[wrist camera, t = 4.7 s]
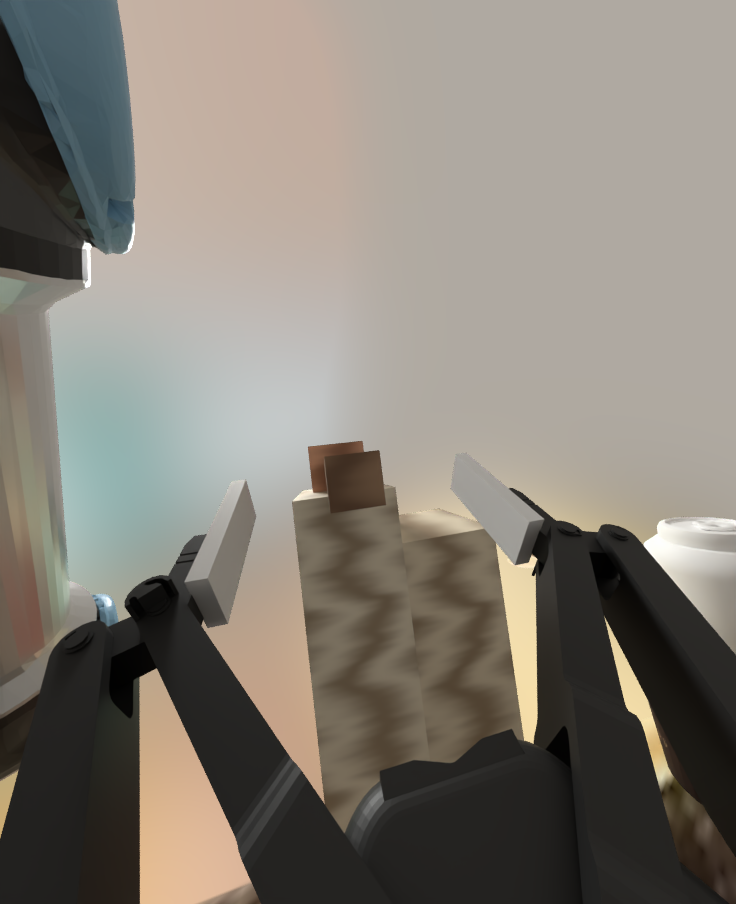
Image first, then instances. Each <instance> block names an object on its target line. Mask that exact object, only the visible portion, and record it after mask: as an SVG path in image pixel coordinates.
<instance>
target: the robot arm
mask: <svg viewBox="0 0 736 904" xmlns="http://www.w3.org/2000/svg"><path fill="white" fill-rule="evenodd" d="M134 198H135V160H134V143H133V129H132V117H131V107H130V95H129V85H128V76H127V67H126V59H125V50H124V43H123V35H122V29H121V22H120V17H119V11H118V3H117V0H0V781H1V780H3V779H5V778H6V777H8V776H10V775H12V774H13V773H15V772H17V771H18V775H17V778H16V782H15V786H14V790H13V793H12V797H11V801H10V805H9V808H8V812H7V816H6V820H5V823H4V827H3V831H2V834H1V838H0V904H140V850H139V849H140V843H139V842H140V815H139V814H140V810H139V809H140V804H139V803H140V802H139V801H140V795H139V794H140V793H139V792H140V787H139V786H140V783H139V780H140V777H139V775H140V769H139V768H140V766H139V765H140V761H139V757H140V755H139V677H140V676H142V675H144V674H146V673H148V672H150V671H152V670H154V669H156V668H157V669H158V671H159V673H160V676H161V678H162V680H163V682H164V684H165V686H166V689H167V691H168V693H169V695H170V697H171V700H172V702H173V704H174V706H175V708H176V710H177V712H178V715H179V717H180V719H181V721H182V723H183V725H184V727H185V730H186V732H187V733H188V736H189V738H190V740H191V742H192V745H193V747H194V749H195V751H196V753H197V755H198V758H199V760H200V762H201V764H202V766H203V768H204V771H205V773H206V775H207V777H208V779H209V781H210V783H211V786H212V788H213V790H214V792H215V794H216V796H217V799H218V801H219V803H220V805H221V807H222V809H223V812H224V814H225V816H226V818H227V820H228V822H229V824H230V827H231V829H232V831H233V833H234V835H235V838H236V841H237V845H238V850H239V853H240V856H241V859H242V862H243V864H244V866H245V869H246V871H247V873H248V876H249V878H250V880H251V882H252V884H253V887H254V889H255V891H256V893H257V895H258V897H259V900H260V902H261V904H729V903H728V902H726V901H725V900H724V899H723V898H722V897H721V896H719V895H718V894H717V893H716V892H715V891H713V890H712V889H711V888H710V887H709V886H708V885H706V884H705V883H704V882H703V881H702V880H701V879H699V878H698V877H697V876H696V875H695V874H694V873H692V872H691V871H690V870H689V869H688V868H687V867H685V866H684V865H683V864H682V863H681V862H680V861H679V860H678V856H677V852H676V848H675V845H674V841H673V837H672V833H671V830H670V826H669V822H668V818H667V815H666V811H665V807H664V803H663V800H662V796H661V792H660V788H659V785H658V781H657V777H656V773H655V770H654V766H653V762H652V758H651V755H650V751H649V747H648V743H647V740H646V736H645V732H644V730H643V727H642V724H641V722H640V720H639V719H638V717H637V716H636V715H635V714H632V713H631V712H629V711H628V709H627V708H626V705H625V702H624V698H623V694H622V690H621V686H620V682H619V677H618V673H617V668H616V664H615V660H614V656H613V652H612V647H611V643H610V639H609V635H608V630H607V626H606V622H605V618H606V620H607V622H608V624H609V626H610V628H611V629H612V631H613V634H614V636H615V637H616V639H617V641H618V643H619V645H620V647H621V649H622V651H623V653H624V654H625V657H626V658H627V660H628V662H629V665H630V666H631V668H632V670H633V672H634V674H635V676H636V677H637V680H638V682H639V684H640V686H641V688H642V689H643V692H644V693H645V695H646V697H647V699H648V701H649V703H650V705H651V707H652V709H653V711H654V713H655V715H656V717H657V719H658V720H659V722H660V724H661V726H662V728H663V730H664V732H665V734H666V736H667V738H668V740H669V742H670V744H671V746H672V748H673V749H674V751H675V753H676V755H677V757H678V759H679V761H680V763H681V765H682V767H683V769H684V771H685V773H686V775H687V776H688V778H689V780H690V782H691V784H692V786H693V788H694V789H695V791H696V793H697V795H698V797H699V798H700V800H701V802H702V804H703V806H704V807H705V809H706V811H707V813H708V814H709V816H710V818H711V819H712V821H713V822H714V824H715V826H716V827H717V829H718V830H719V832H720V834H721V835H722V837H723V838H724V840H725V841H726V843H727V845H728V846H729V848H730V849H731V851H732V852H733V854H734V855H735V857H736V654H735V653H734V652H733V651H732V650H731V649H730V647H729V646H728V645H727V644H726V643H725V641H724V640H723V639H722V638H721V637H720V636H719V634H718V633H717V632H716V631H715V630H714V628H713V627H712V626H711V625H710V624H709V623H708V621H707V620H706V619H705V618H704V617H703V615H702V614H701V613H700V612H699V611H698V609H697V608H696V607H695V606H694V605H693V604H692V602H691V601H690V600H689V599H688V598H687V596H686V595H685V594H684V593H683V592H682V591H681V589H680V588H679V587H678V586H677V585H676V583H675V582H674V581H673V580H672V579H671V578H670V576H669V575H668V574H667V573H666V572H665V570H664V569H663V568H662V567H661V566H660V565H659V563H658V562H657V561H656V560H655V559H654V557H653V556H652V555H651V554H650V553H649V552H648V550H647V549H646V548H645V547H644V546H643V544H642V543H641V542H640V541H639V540H638V539H637V537H636V536H635V535H633V534H632V533H631V532H629V531H628V530H626V529H624V528H621V527H619V526H615V525H610V524H605V525H602V526H601V527H600V529H599V531H598V532H586V531H582V530H581V529H579V528H578V527H577V526H575V525H573V524H571V523H568V522H564V521H556V520H554V519H553V518H552V517H551V516H550V515H548V514H547V513H546V512H545V511H543V510H542V509H541V508H540V507H539V506H537V505H535V503H533V501H531V500H529V498H528V497H526V496H525V495H524V494H523V493H521V492H519V491H517V490H515V489H513V488H509V489H508V488H507V487H506V486H505V485H503V484H502V483H501V482H500V481H499V480H498V479H496V478H495V477H494V476H493V475H492V474H491V473H489V472H488V471H487V470H486V469H485V468H484V467H482V466H481V465H480V464H479V463H478V462H476V461H475V460H474V459H473V458H472V457H471V456H470V455H468V454H467V453H461V454H456V456H455V463H454V469H453V476H452V483H451V489H452V490H453V492H454V493H455V494H456V496H457V497H458V498H459V499H460V500H461V501H462V502H463V504H464V505H465V506H466V507H467V509H468V510H469V511H470V512H471V513H472V515H473V516H474V517H475V518H476V519H477V521H478V522H479V523H480V524H481V525H482V527H483V528H484V529H485V530H486V531H487V533H488V534H489V535H490V536H491V537H492V539H493V540H494V541H495V542H496V543H497V544H498V546H499V547H500V548H501V549H502V550H503V552H504V553H505V554H506V555H507V556H508V558H509V559H510V560H511V561H512V562H513V564H514V565H518V564H523V563H528V562H529V560H530V557H531V554H533V555H534V556H535V557H536V558H537V559H538V560H537V562H536V565H535V567H534V570H533V573H532V576H534V575H535V573H536V626H537V698H538V699H537V701H538V720H537V726H536V731H535V736H534V744H532V743H530V742H527V741H523V740H519V739H517V738H516V736H515V734H514V732H513V730H512V729H509V730H506V731H503V732H500V733H497V734H494V735H491V736H488V737H484V738H482V739H480V740H479V741H478V742H477V743H476V744H475V745H474V746H472V747H471V748H470V749H469V750H468V751H467V752H466V753H464V754H463V755H462V756H461V757H460V758H459V759H458V760H456V761H455V762H453V763H445V762H433V761H421V760H412V761H409V762H406V763H403V764H400V765H397V766H394V767H390V768H387V769H384V770H381V771H380V781H379V782H378V783H377V784H376V785H374V786H373V787H372V788H371V789H370V790H369V791H368V793H367V794H366V795H365V796H364V797H363V799H362V800H361V802H360V803H359V805H358V806H357V808H356V809H355V811H354V813H353V815H352V817H351V819H350V821H349V824H348V826H347V828H346V831H345V833H344V832H343V831H342V829H341V828H340V826H339V825H338V823H337V822H336V820H335V819H334V817H333V816H332V814H331V813H330V812H329V810H328V809H327V807H326V806H325V804H324V803H323V801H322V800H321V798H320V797H319V796H318V794H317V793H316V791H315V790H314V789H313V787H312V785H311V784H310V782H309V781H308V779H307V778H306V777H305V775H304V774H303V772H302V771H301V769H300V768H299V767H298V766H297V764H296V763H295V762H294V761H293V760H292V759H291V758H290V756H289V755H288V753H287V752H286V750H285V749H284V747H283V746H282V745H281V743H280V741H279V740H278V739H277V737H276V736H275V734H274V733H273V731H272V730H271V728H270V727H269V725H268V724H267V722H266V721H265V719H264V718H263V716H262V715H261V714H260V712H259V711H258V709H257V708H256V706H255V705H254V703H253V702H252V700H251V699H250V697H249V696H248V694H247V693H246V691H245V690H244V688H243V687H242V686H241V684H240V682H239V681H238V680H237V678H236V677H235V675H234V674H233V672H232V671H231V669H230V668H229V666H228V665H227V663H226V662H225V660H224V659H223V658H222V656H221V654H220V653H219V651H218V650H217V648H216V647H215V646H214V644H213V643H212V641H211V640H210V638H209V637H208V635H207V634H206V632H205V631H204V629H203V628H202V626H201V625H202V622H203V620H204V622H205V624H206V626H207V628H210V627H215V626H219V625H225V624H228V621H229V618H230V614H231V610H232V607H233V602H234V599H235V595H236V591H237V587H238V583H239V580H240V576H241V572H242V568H243V565H244V561H245V557H246V553H247V549H248V545H249V542H250V538H251V534H252V530H253V526H254V523H255V519H256V514H255V511H254V507H253V503H252V500H251V496H250V492H249V489H248V485H247V482H246V479H245V480H237V481H232V482H231V484H230V486H229V488H228V491H227V492H226V494H225V497H224V499H223V501H222V503H221V505H220V507H219V509H218V511H217V514H216V516H215V518H214V520H213V522H212V524H211V527H210V528H209V531H208V533H207V534H205V535H198V536H194V537H193V538H192V539H191V540H190V541H189V542H188V543H187V544H186V545H185V546H184V549H183V550H182V552H181V554H180V556H179V557H178V559H177V561H176V564H175V565H174V567H173V568H172V570H171V572H170V574H169V576H163V575H159V576H156V577H152V578H150V579H147V580H146V581H143V582H142V583H141V584H139V585H138V586H136V587H135V588H134V589H133V590H132V591H131V592H130V593H129V594H128V596H127V598H126V600H125V608H126V609H127V611H128V612H129V614H130V615H131V617H129V618H127V619H125V620H122V621H120V622H118V616H117V611H116V607H115V604H114V601H113V599H112V598H111V597H110V596H109V595H105V594H97V595H91V594H90V592H89V591H88V590H87V589H85V588H84V587H83V586H81V585H79V584H77V583H74V582H71V581H69V573H68V561H67V549H66V535H65V523H64V510H63V497H62V485H61V470H60V458H59V444H58V431H57V419H56V404H55V391H54V378H53V365H52V351H51V339H50V325H49V311H48V309H49V308H50V307H51V306H52V305H53V304H54V303H55V302H57V301H59V300H61V299H63V298H65V297H67V296H69V295H72V294H74V293H76V292H78V291H80V290H83V289H85V288H87V287H89V286H90V281H91V278H90V249H91V246H92V247H96V248H98V249H99V250H100V251H102V252H103V253H105V254H111V253H116V254H124V253H126V252H128V251H129V250H130V248H131V246H132V243H133V238H134V230H135V225H134V207H133V199H134ZM604 616H605V618H604Z"/></svg>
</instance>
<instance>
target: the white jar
mask: <svg viewBox="0 0 736 904" xmlns="http://www.w3.org/2000/svg"><path fill="white" fill-rule="evenodd" d="M657 531H658V534H656V535H655V536H653V537H652V538H650V539H649V540H647V541H646V542H644V547H645V548H646V549H647V550H648V552H649V553H650V554H651V555H652V556H653V557H654V559H655V560H656V561H657V562H658V563H659V565H660V566H661V567H662V568H663V569H664V570H665V572H666V573H667V574H668V575H669V576H670V578H671V579H672V580H673V581H674V582H675V583H676V585H677V586H678V587H679V588H680V589H681V591H682V592H683V593H684V594H685V595H686V596H687V598H688V599H689V600H690V601H691V602H692V604H693V605H694V606H695V607H696V608H697V609H698V611H699V612H700V613H701V614H702V615H703V617H704V618H705V619H706V620H707V621H708V623H709V624H710V625H711V626H712V627H713V628H714V630H715V631H716V632H717V633H718V634H719V636H720V637H721V638H722V639H723V640H724V641H725V643H726V644H727V645H728V646H729V647H730V649H731V650H732V651H733V652H734V653H735V654H736V520H730V519H721V518H708V517H678V518H670V519H666V520H662V521H660V522H659V524H658V526H657Z"/></svg>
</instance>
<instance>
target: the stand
mask: <svg viewBox="0 0 736 904" xmlns="http://www.w3.org/2000/svg"><path fill="white" fill-rule="evenodd" d="M384 491H385V499H386V505H384V506H377V507H371V508H364V509H358V510H351V511H344V512H338V513H331V512H330V506H329V500H328V493H327V491H324V492H316V493H313V489H312V490H304V491H302V492H301V493H300V494H299V495H298V496H297V497H296V498H295V499H294V500H293V501H292V505H293V514H294V524H295V533H296V542H297V552H298V561H299V570H300V579H301V588H302V598H303V607H304V616H305V626H306V635H307V644H308V653H309V663H310V672H311V680H312V690H313V700H314V708H315V718H316V727H317V736H318V746H319V754H320V764H321V773H322V783H323V792H324V800H325V806H326V807H327V809H328V810H329V812H330V813H331V814H332V816H333V817H334V819H335V820H336V822H337V823H338V825H339V826H340V828H341V829H342V831H343V832H344V833H345V831H346V828H347V826H348V824H349V821H350V819H351V817H352V815H353V813H354V811H355V809H356V808H357V806H358V805H359V803H360V802H361V800H362V799H363V797H364V796H365V795H366V794H367V793H368V791H369V790H370V789H371V788H372V787H373V786H374V785H376V784H377V783H378V782H379V781H380V771H381V770H384V769H387V768H390V767H394V766H397V765H400V764H403V763H406V762H409V761H412V760H421V761H433V762H445V763H453V762H455V761H456V760H458V759H459V758H460V757H461V756H462V755H463V754H464V753H466V752H467V751H468V750H469V749H470V748H471V747H472V746H474V745H475V744H476V743H477V742H478V741H479V740H480V739H482V738H484V737H488V736H491V735H494V734H497V733H500V732H503V731H506V730H509V729H512V730H513V732H514V734H515V736H516V738H517V739H519V740H523V741H524V737H523V730H522V723H521V717H520V709H519V702H518V695H517V688H516V682H515V675H514V668H513V661H512V654H511V647H510V640H509V633H508V626H507V620H506V612H505V605H504V598H503V591H502V584H501V577H500V570H499V564H498V557H497V549H496V542H495V541H494V540H493V539H492V537H491V536H490V535H489V534H488V533H487V531H486V530H485V529H484V528H483V527H482V525H481V524H480V523H479V522H477V521H474V520H471V519H468V518H465V517H462V516H459V515H456V514H453V513H450V512H447V511H444V510H441V509H434V510H428V511H421V512H415V513H409V514H403V515H399V514H398V505H397V497H396V490H395V487H393V486H389V485H384Z"/></svg>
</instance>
